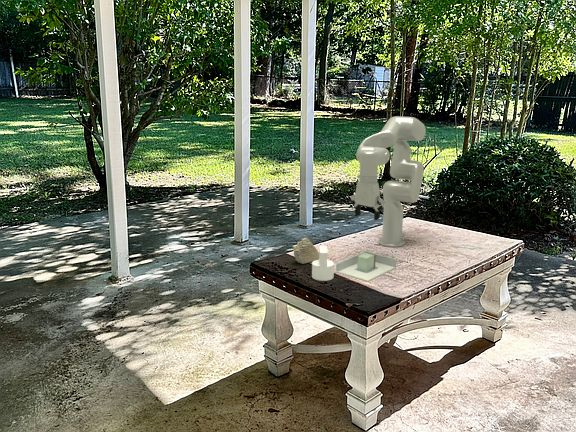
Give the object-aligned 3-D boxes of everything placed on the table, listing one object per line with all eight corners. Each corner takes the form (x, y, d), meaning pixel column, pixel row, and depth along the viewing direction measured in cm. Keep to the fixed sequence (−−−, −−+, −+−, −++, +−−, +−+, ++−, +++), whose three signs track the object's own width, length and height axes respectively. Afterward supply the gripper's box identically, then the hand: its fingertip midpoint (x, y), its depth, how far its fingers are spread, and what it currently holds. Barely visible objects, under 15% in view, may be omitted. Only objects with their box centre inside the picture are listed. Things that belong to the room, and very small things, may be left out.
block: (357, 269, 232) (357, 255, 230) (366, 265, 237) (366, 251, 236) (366, 272, 229) (366, 258, 228) (375, 267, 234) (375, 254, 233)
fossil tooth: (322, 262, 246) (297, 266, 236) (312, 258, 250) (288, 262, 241) (325, 238, 243) (300, 241, 233) (316, 234, 248) (291, 237, 238)
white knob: (311, 272, 230) (312, 245, 227) (333, 273, 230) (333, 246, 226) (312, 280, 221) (312, 252, 218) (334, 281, 221) (335, 253, 218)
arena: (365, 259, 246) (365, 250, 245) (396, 268, 236) (396, 259, 235) (336, 272, 230) (336, 263, 229) (367, 281, 220) (368, 272, 219)
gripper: (346, 177, 234) (345, 215, 239) (381, 183, 223) (379, 223, 228) (356, 174, 239) (355, 212, 244) (390, 180, 228) (388, 219, 233)
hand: (367, 217), depth 236 cm, fingers open, 9 cm apart
